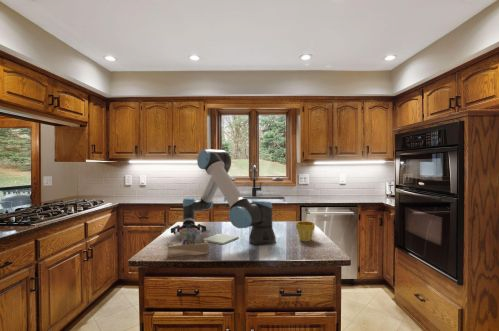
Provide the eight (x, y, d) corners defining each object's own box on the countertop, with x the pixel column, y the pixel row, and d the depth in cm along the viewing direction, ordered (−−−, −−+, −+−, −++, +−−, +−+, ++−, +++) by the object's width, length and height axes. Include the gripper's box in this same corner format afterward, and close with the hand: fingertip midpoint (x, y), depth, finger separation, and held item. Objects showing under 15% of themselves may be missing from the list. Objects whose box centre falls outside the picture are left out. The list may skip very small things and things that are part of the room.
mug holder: (170, 246, 151) (170, 236, 151) (206, 243, 155) (206, 234, 155) (168, 256, 133) (168, 246, 133) (208, 253, 137) (208, 243, 137)
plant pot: (313, 243, 153) (313, 225, 152) (295, 241, 156) (294, 224, 156) (315, 238, 162) (315, 221, 162) (297, 236, 166) (297, 220, 166)
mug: (197, 252, 139) (197, 231, 139) (178, 253, 138) (178, 232, 138) (198, 245, 151) (198, 226, 151) (181, 246, 150) (180, 226, 150)
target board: (238, 238, 164) (238, 236, 164) (223, 244, 152) (223, 242, 152) (219, 235, 172) (219, 233, 172) (202, 240, 160) (202, 239, 160)
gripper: (208, 229, 176) (211, 238, 156) (168, 232, 171) (165, 241, 150) (208, 217, 176) (211, 224, 156) (168, 220, 171) (165, 227, 150)
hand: (188, 232), depth 153 cm, fingers open, 13 cm apart
